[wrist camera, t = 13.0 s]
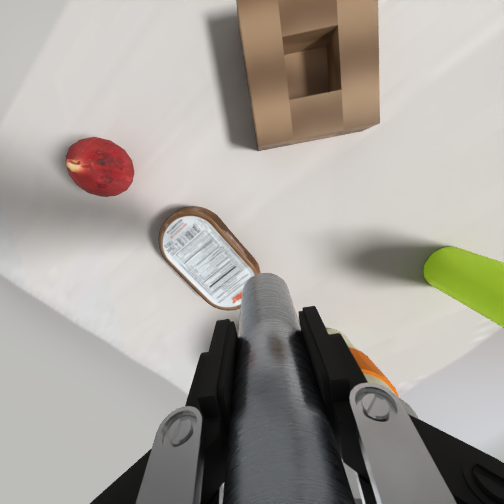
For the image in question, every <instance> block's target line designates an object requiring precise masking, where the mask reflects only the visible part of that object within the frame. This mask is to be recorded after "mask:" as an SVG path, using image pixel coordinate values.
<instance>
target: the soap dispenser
mask: <svg viewBox="0 0 504 504" xmlns="http://www.w3.org/2000/svg"><path fill="white" fill-rule="evenodd" d="M423 274H424V278H425V280H426V281H427V282H428V283H429V284H430V285H432V286H434V287H435V288H437V289H439V290H440V291H442V292H444V293H445V294H447V295H449V296H451V297H452V298H454V299H456V300H457V301H459V302H461V303H463V304H464V305H466V306H468V307H469V308H471V309H473V310H474V311H476V312H478V313H480V314H481V315H483V316H485V317H486V318H488V319H490V320H492V321H493V322H495V323H497V324H498V325H500V326H502V327H503V328H504V263H503V262H500V261H497V260H494V259H491V258H488V257H485V256H481V255H478V254H475V253H472V252H469V251H466V250H463V249H460V248H457V247H444V248H441V249H439V250H437V251H436V252H434V253H433V254H432V255H431V256H430V257H429V258H428V259H427V261H426V263H425V265H424V269H423Z"/></svg>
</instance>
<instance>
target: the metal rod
mask: <svg viewBox="0 0 504 504" xmlns="http://www.w3.org/2000/svg"><path fill="white" fill-rule="evenodd" d="M222 504H355V500H354V497H353V494H352V491H351V488H350V485H349V481H348V478H347V475H346V472H345V469H344V465H343V462H342V459H341V456H340V453H339V449H338V446H337V443H336V440H335V437H334V433H333V430H332V427H331V424H330V421H329V417H328V415H327V412H326V409H325V406H324V403H323V400H322V396H321V393H320V390H319V387H318V384H317V380H316V377H315V374H314V371H313V368H312V364H311V361H310V358H309V355H308V351H307V348H306V345H305V342H304V339H303V335H302V332H301V328H300V325H299V322H298V318H297V315H296V312H295V309H294V306H293V302H292V299H291V296H290V293H289V290H288V287H287V285H286V283H285V282H284V280H283V279H281V278H280V277H279V276H277V275H274V274H271V273H261V274H257V275H255V276H253V277H251V278H250V279H249V280H248V281H247V282H246V283H245V285H244V287H243V291H242V300H241V311H240V322H239V332H238V344H237V355H236V366H235V377H234V387H233V398H232V409H231V420H230V428H229V439H228V450H227V461H226V471H225V482H224V493H223V503H222Z"/></svg>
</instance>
